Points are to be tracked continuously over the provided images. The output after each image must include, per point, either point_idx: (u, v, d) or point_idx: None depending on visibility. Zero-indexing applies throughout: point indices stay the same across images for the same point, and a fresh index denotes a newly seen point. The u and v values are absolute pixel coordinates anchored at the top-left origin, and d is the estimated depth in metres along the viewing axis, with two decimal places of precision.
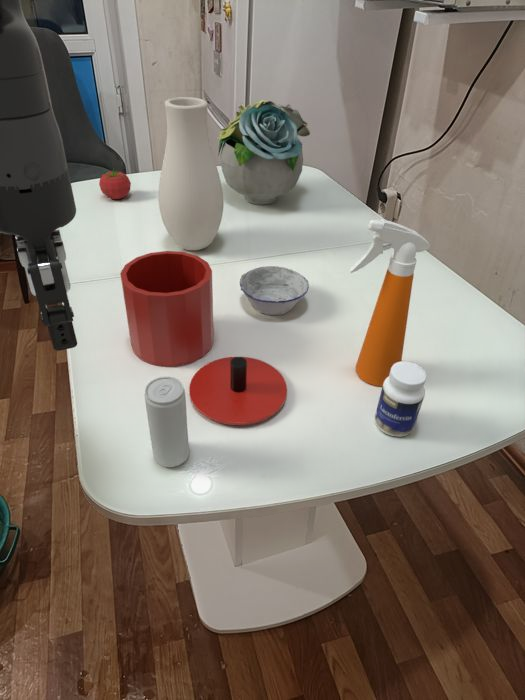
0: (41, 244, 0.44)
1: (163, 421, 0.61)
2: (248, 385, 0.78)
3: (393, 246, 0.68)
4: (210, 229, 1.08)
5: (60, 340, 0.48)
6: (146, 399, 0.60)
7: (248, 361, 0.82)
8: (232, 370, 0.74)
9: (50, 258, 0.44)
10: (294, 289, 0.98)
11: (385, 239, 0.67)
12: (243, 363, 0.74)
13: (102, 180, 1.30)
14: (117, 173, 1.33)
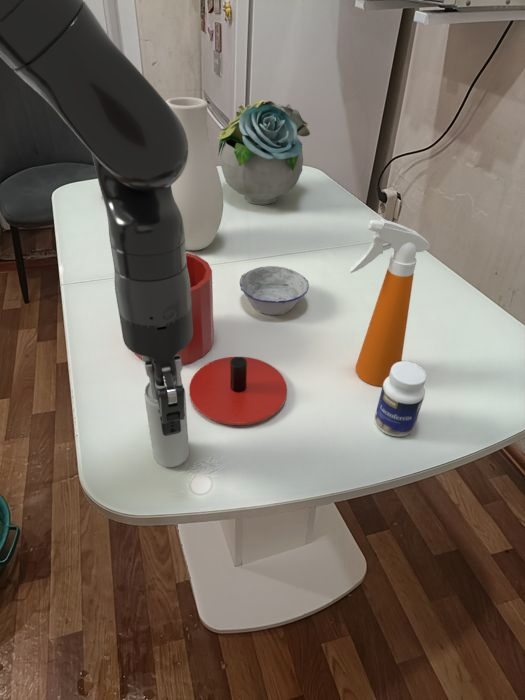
0: (167, 364, 0.54)
1: None
2: (248, 385, 0.78)
3: (393, 246, 0.68)
4: (210, 229, 1.08)
5: (169, 429, 0.60)
6: (146, 399, 0.60)
7: (248, 361, 0.82)
8: (232, 370, 0.74)
9: (173, 376, 0.54)
10: (294, 289, 0.98)
11: (385, 239, 0.67)
12: (243, 363, 0.74)
13: None
14: None
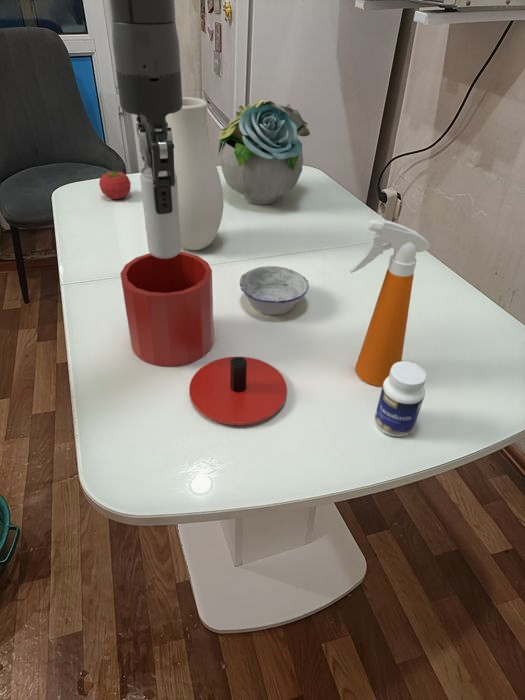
0: (159, 123, 0.61)
1: None
2: (248, 385, 0.78)
3: (393, 246, 0.68)
4: (210, 229, 1.08)
5: (162, 204, 0.67)
6: (141, 177, 0.67)
7: (248, 361, 0.82)
8: (232, 370, 0.74)
9: (164, 137, 0.61)
10: (294, 289, 0.98)
11: (385, 239, 0.67)
12: (243, 363, 0.74)
13: (102, 180, 1.30)
14: (117, 173, 1.33)
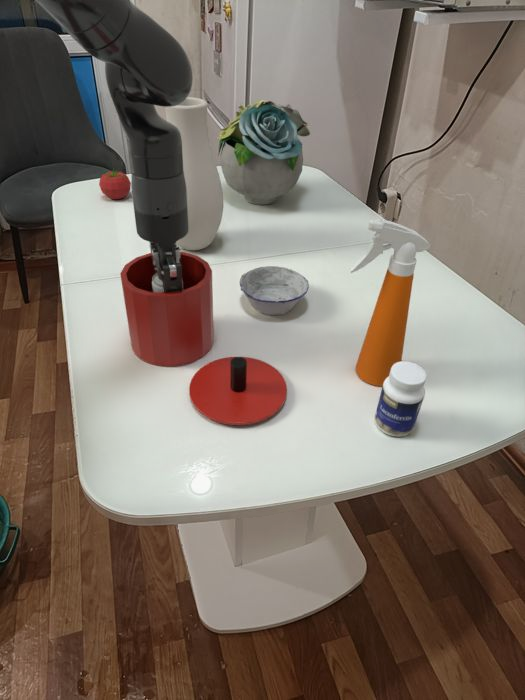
0: (169, 248, 0.73)
1: None
2: (248, 385, 0.78)
3: (393, 246, 0.68)
4: (210, 229, 1.08)
5: None
6: (153, 284, 0.79)
7: (248, 361, 0.82)
8: (232, 370, 0.74)
9: (173, 259, 0.74)
10: (294, 289, 0.98)
11: (385, 239, 0.67)
12: (243, 363, 0.74)
13: (102, 180, 1.30)
14: (117, 173, 1.33)
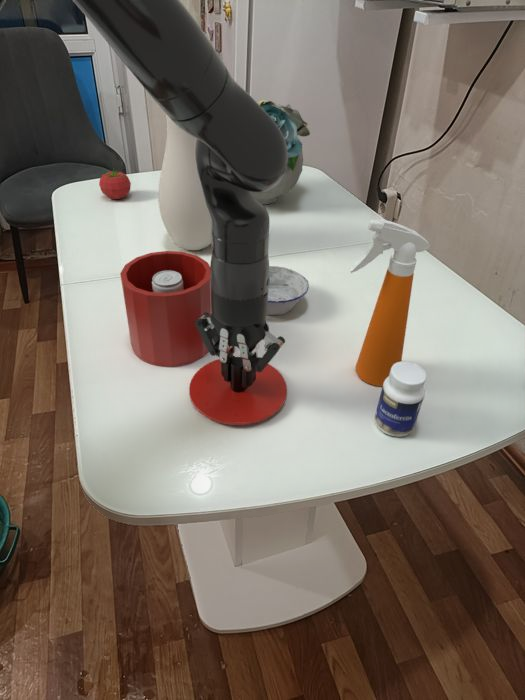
0: (264, 324, 0.68)
1: None
2: None
3: (393, 246, 0.68)
4: (210, 229, 1.08)
5: (252, 380, 0.75)
6: (153, 284, 0.79)
7: None
8: (232, 370, 0.74)
9: None
10: (294, 289, 0.98)
11: (385, 239, 0.67)
12: None
13: (102, 180, 1.30)
14: (117, 173, 1.33)
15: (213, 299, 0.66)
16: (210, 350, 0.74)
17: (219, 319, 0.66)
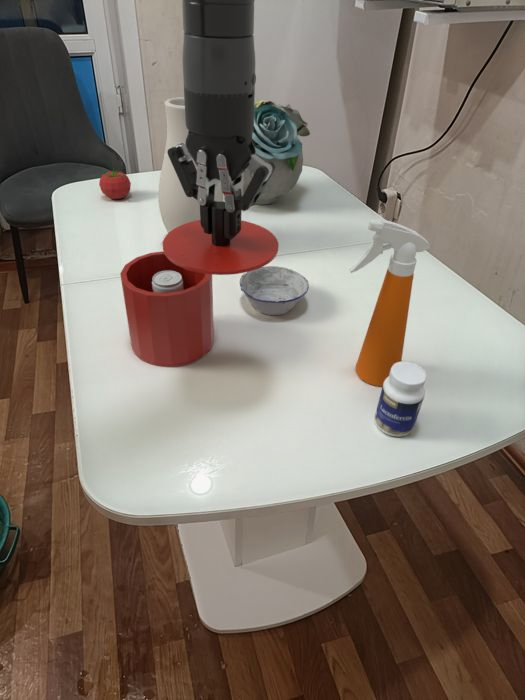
0: (250, 142, 0.56)
1: None
2: (233, 241, 0.66)
3: (393, 246, 0.68)
4: None
5: (236, 227, 0.63)
6: (153, 284, 0.79)
7: None
8: (213, 215, 0.62)
9: None
10: (294, 289, 0.98)
11: (385, 239, 0.67)
12: None
13: (102, 180, 1.30)
14: (117, 173, 1.33)
15: (186, 102, 0.54)
16: (186, 189, 0.62)
17: (194, 129, 0.54)
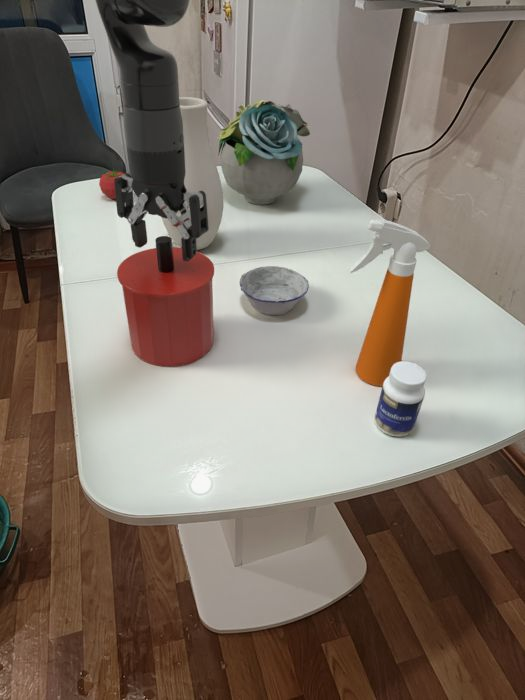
0: (182, 186, 0.69)
1: None
2: (176, 267, 0.79)
3: (393, 246, 0.68)
4: (210, 229, 1.08)
5: (192, 251, 0.74)
6: None
7: (180, 250, 0.84)
8: (157, 247, 0.76)
9: None
10: (294, 289, 0.98)
11: (385, 239, 0.67)
12: (168, 240, 0.76)
13: (102, 180, 1.30)
14: (117, 173, 1.33)
15: (128, 156, 0.67)
16: (118, 211, 0.75)
17: (135, 178, 0.67)
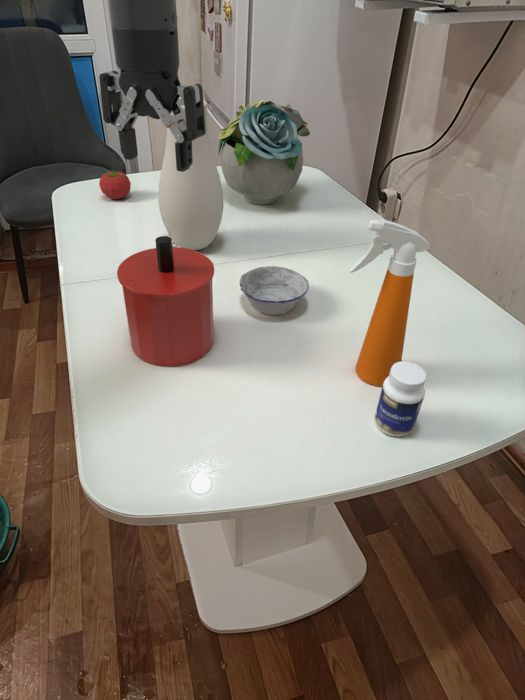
0: (175, 78, 0.61)
1: None
2: (176, 267, 0.79)
3: (393, 246, 0.68)
4: (210, 229, 1.08)
5: (188, 159, 0.66)
6: None
7: (180, 250, 0.84)
8: (157, 247, 0.76)
9: None
10: (294, 289, 0.98)
11: (385, 239, 0.67)
12: (168, 240, 0.76)
13: (102, 180, 1.30)
14: (117, 173, 1.33)
15: (114, 39, 0.58)
16: (105, 116, 0.67)
17: (122, 65, 0.59)
